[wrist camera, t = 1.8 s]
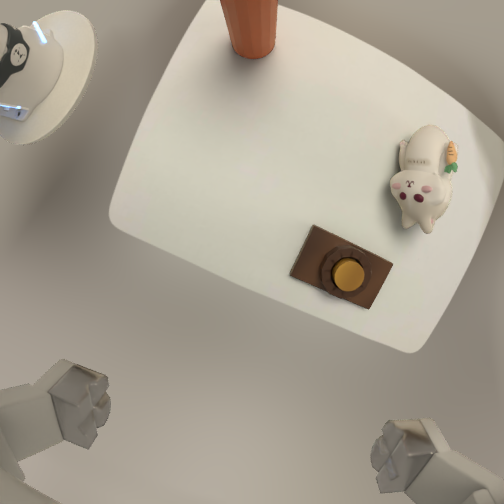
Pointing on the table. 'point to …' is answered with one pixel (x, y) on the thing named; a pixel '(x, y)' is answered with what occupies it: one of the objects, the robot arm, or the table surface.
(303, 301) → the table surface
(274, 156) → the table surface
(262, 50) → the orange bottle
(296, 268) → the brown button base
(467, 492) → the robot arm
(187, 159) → the table surface
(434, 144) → the cat figurine
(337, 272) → the button
